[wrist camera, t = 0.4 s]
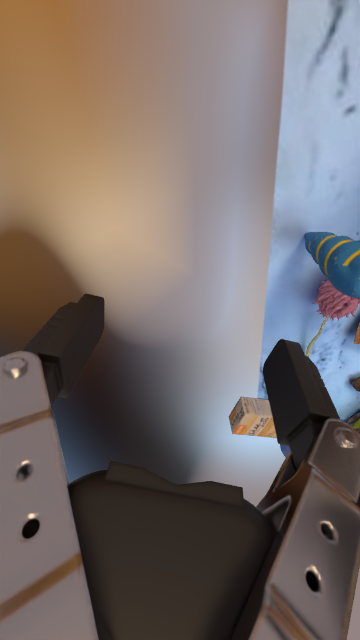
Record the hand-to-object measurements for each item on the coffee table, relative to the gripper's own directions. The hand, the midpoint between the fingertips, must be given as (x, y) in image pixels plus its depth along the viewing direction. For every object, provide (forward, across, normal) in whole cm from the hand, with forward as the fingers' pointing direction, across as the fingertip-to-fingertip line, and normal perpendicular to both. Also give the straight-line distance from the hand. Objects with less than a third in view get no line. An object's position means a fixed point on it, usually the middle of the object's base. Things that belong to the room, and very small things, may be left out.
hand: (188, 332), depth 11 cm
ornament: (+27, -15, +1) cm, 30 cm away
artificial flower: (+27, -25, +16) cm, 40 cm away
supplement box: (+24, -32, +41) cm, 57 cm away
